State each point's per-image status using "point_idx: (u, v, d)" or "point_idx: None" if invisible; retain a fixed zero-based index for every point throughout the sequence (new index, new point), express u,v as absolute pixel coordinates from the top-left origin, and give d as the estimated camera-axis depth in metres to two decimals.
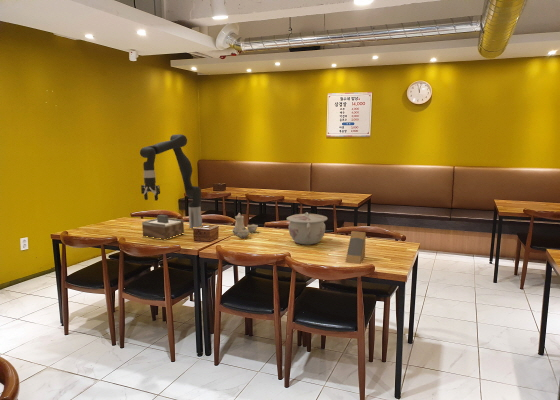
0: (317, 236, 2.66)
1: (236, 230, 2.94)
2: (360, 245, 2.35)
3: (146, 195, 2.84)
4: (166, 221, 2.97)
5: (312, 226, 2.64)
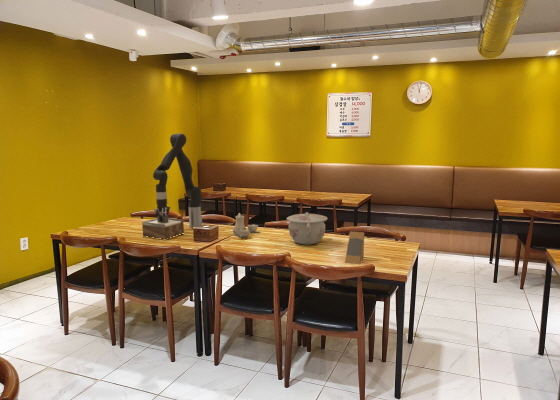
0: (317, 236, 2.66)
1: (236, 230, 2.94)
2: (359, 246, 2.34)
3: None
4: (166, 221, 2.97)
5: (312, 226, 2.64)
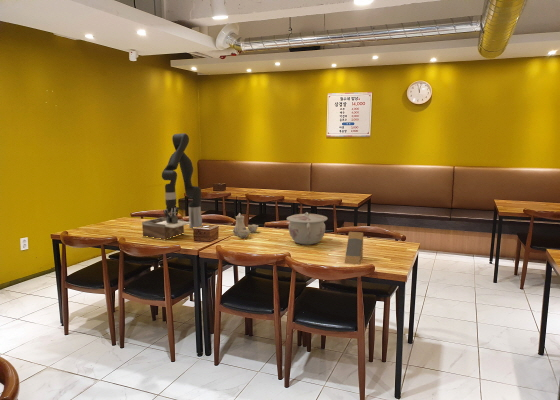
0: (317, 236, 2.66)
1: (236, 230, 2.94)
2: (359, 246, 2.34)
3: None
4: (175, 222, 2.93)
5: (312, 226, 2.64)
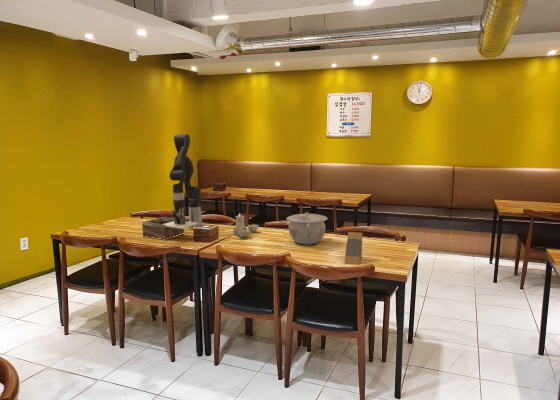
0: (317, 236, 2.66)
1: (236, 230, 2.94)
2: (358, 246, 2.34)
3: None
4: (183, 222, 2.89)
5: (312, 226, 2.64)
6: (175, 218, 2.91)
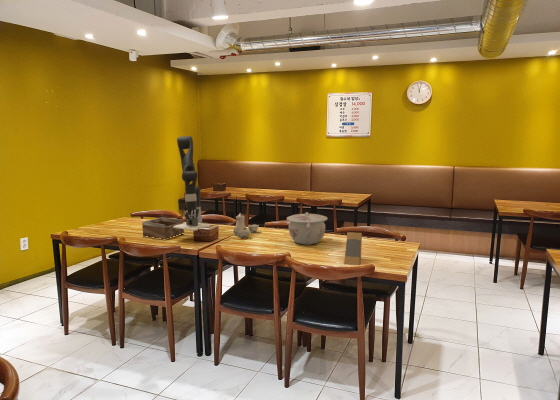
0: (317, 236, 2.66)
1: (237, 230, 2.94)
2: (358, 246, 2.33)
3: None
4: (196, 224, 2.83)
5: (312, 226, 2.64)
6: (187, 220, 2.85)
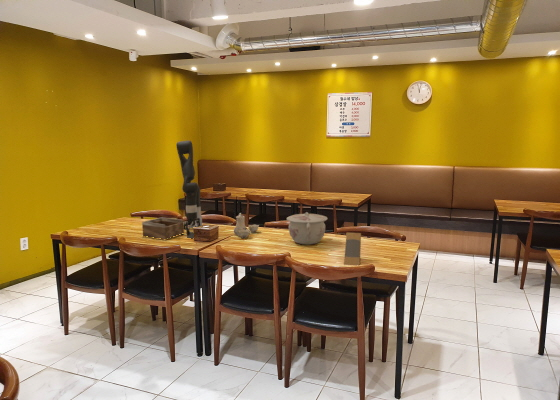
0: (317, 236, 2.66)
1: (237, 230, 2.94)
2: (357, 247, 2.32)
3: None
4: None
5: (312, 226, 2.64)
6: None
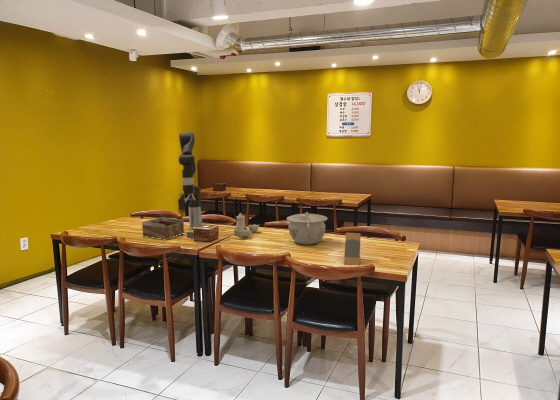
0: (317, 236, 2.66)
1: (237, 230, 2.94)
2: (357, 247, 2.32)
3: None
4: None
5: (312, 226, 2.64)
6: (188, 234, 2.87)
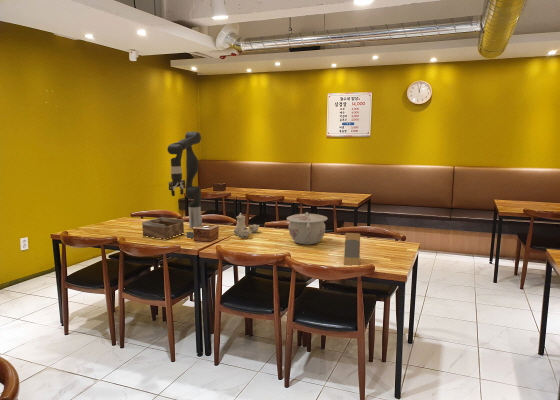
0: (317, 236, 2.66)
1: (237, 230, 2.94)
2: (357, 247, 2.31)
3: None
4: None
5: (312, 226, 2.64)
6: (188, 234, 2.87)
